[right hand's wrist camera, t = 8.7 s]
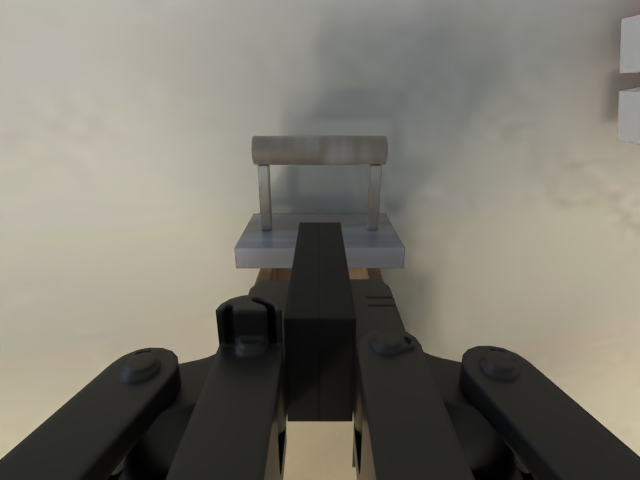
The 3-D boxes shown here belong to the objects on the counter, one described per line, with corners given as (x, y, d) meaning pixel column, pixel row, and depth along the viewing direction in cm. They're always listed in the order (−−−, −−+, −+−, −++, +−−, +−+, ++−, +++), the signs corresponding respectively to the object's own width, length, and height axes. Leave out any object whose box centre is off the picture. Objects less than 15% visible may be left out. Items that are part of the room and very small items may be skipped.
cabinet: (253, 308, 30) (231, 382, 22) (385, 308, 30) (408, 382, 22) (267, 498, 37) (253, 602, 29) (372, 498, 37) (386, 602, 29)
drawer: (248, 131, 24) (225, 142, 18) (390, 130, 24) (413, 142, 18) (267, 434, 33) (256, 507, 27) (372, 433, 33) (383, 507, 27)
